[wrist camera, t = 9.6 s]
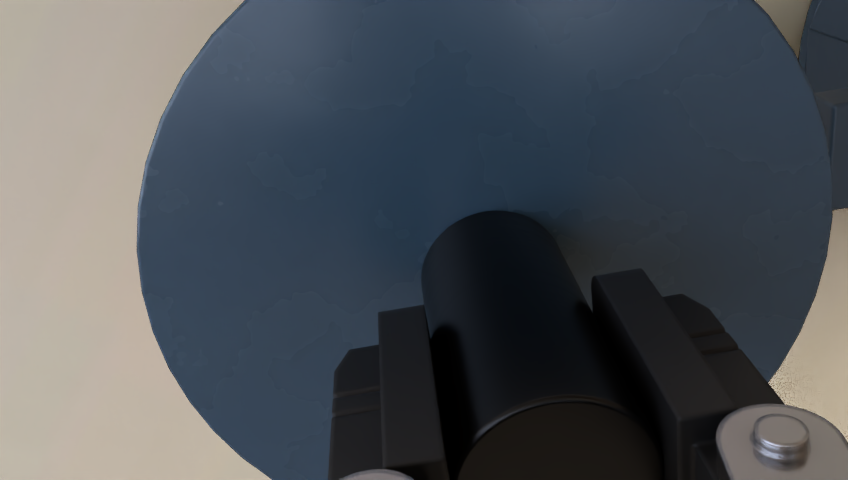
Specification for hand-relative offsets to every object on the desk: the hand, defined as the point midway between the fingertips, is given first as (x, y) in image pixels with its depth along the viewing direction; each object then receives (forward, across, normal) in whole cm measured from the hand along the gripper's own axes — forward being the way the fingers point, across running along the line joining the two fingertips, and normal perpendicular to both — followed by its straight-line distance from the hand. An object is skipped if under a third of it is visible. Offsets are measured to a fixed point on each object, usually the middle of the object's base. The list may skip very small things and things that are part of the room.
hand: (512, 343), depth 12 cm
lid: (+3, 0, 0) cm, 3 cm away
